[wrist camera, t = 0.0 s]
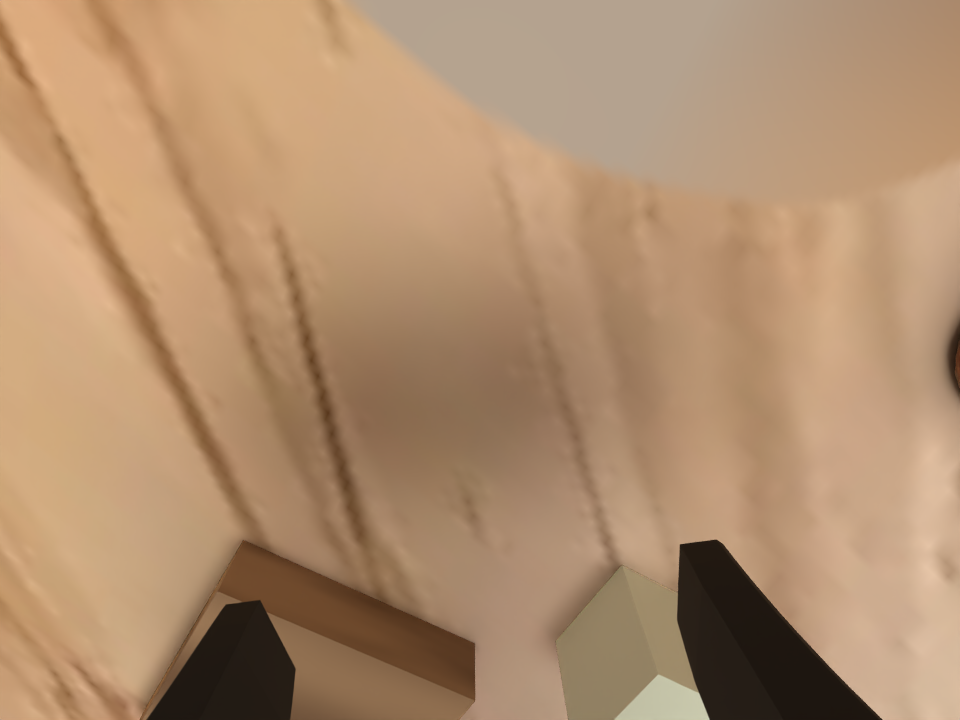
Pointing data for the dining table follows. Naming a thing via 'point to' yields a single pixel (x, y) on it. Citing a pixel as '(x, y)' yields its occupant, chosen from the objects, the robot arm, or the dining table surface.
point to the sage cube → (628, 656)
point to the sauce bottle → (958, 364)
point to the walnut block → (342, 646)
